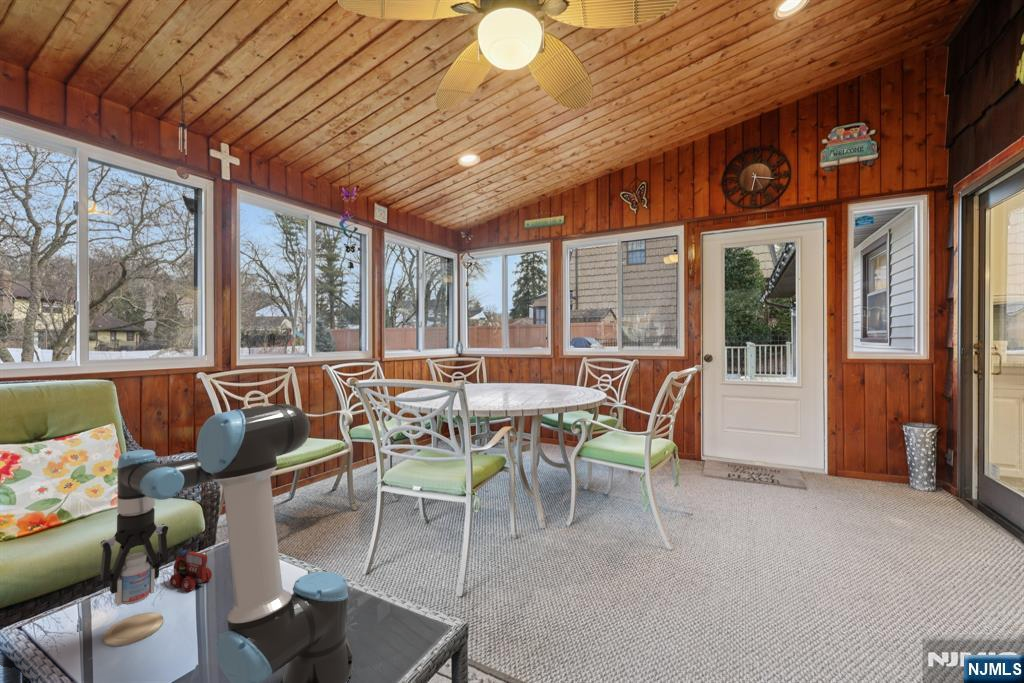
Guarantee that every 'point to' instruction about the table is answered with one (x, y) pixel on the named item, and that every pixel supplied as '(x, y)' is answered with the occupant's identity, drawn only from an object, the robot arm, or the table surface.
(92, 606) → the table surface
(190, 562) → the toy fire truck
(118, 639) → the plate
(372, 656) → the table surface
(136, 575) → the pill bottle
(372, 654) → the table surface
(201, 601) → the table surface
